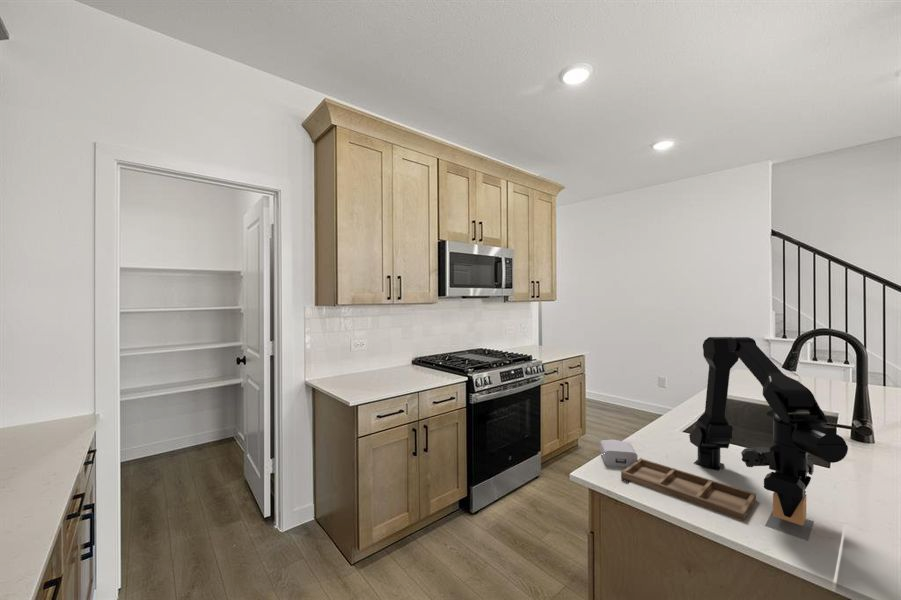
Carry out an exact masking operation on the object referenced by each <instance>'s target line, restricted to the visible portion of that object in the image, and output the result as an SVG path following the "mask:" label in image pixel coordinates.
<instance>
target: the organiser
mask: <svg viewBox="0 0 901 600" xmlns="http://www.w3.org/2000/svg"><path fill="white" fill-rule="evenodd" d="M620 473H621V474H620V477H621V479H622V480H621V479H620V480H621V481H624V480H625V481H624V482H627V481H628V483H629V482H630V483H632V482H633V483H635V484H638V485H640V486H644V487H647V488H648V489H649V488H650V489H653V490H655V491H657V492H660V493H663V494H667V495H669V496H672V497H675V498H678V499H680V500H683V501H685V502H689V503H691V504H694V505H697V506H699V507H702V508H705V509H709V510H711V511H714V512H717V513H719V514H722V515H725V516H728V517H731V518H733V519H736V520H739V521H742V522H744V521H745V519H746V518H747V516H748V514H749V513H750V511H751V510H752V508H753V506H754V505H755V503H756V501H757V493H755V492H751V491H748V490H745V489H741V488H738V487H736V486H732V485H728V484H725V483H722V482H719V481H716V480H712V479H708V478H706V477H702V476H699V475H695V474H693V473H690V472H686V471H684V470H680V469H677V468H674V467H670V466H666V465H663V464H660V463H657V462H654V461H651V460H647V459H645V458H639V459H637V461H636V462H635V463H633V464H632V465H630V466H629V467H625V468H624V469H623V470H621V472H620Z"/></svg>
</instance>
